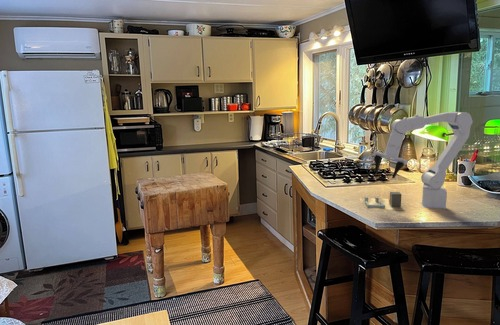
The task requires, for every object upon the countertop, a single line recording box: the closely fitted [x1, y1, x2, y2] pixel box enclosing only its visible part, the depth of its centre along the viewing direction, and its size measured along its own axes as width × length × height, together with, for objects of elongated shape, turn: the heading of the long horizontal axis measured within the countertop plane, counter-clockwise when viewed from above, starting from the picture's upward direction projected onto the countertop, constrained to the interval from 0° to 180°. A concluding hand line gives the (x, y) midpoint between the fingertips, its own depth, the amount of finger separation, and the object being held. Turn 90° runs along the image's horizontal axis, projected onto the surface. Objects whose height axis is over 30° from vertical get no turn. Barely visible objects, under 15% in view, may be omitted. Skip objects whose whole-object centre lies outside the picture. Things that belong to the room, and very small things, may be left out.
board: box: [358, 197, 405, 211], centre depth 171 cm, size 16×18×1 cm
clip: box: [364, 195, 380, 202], centre depth 176 cm, size 6×2×2 cm, turn 83°
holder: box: [365, 201, 385, 208], centre depth 168 cm, size 8×7×1 cm
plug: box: [387, 191, 403, 207], centre depth 171 cm, size 4×12×6 cm, turn 173°
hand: (384, 175), depth 166 cm, fingers open, 7 cm apart
